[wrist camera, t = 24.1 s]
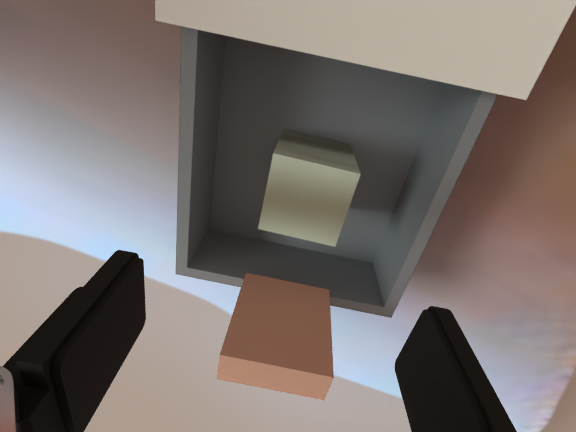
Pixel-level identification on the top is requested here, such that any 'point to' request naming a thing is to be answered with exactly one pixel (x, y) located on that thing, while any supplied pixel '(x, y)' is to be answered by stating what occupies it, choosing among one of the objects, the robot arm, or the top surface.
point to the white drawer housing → (398, 34)
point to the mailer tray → (362, 211)
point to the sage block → (309, 188)
